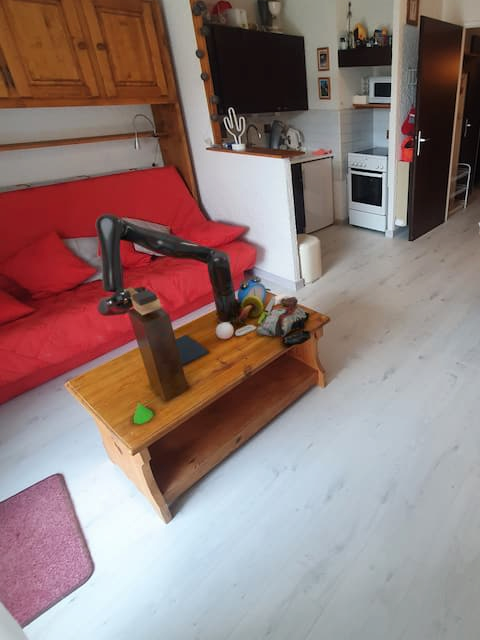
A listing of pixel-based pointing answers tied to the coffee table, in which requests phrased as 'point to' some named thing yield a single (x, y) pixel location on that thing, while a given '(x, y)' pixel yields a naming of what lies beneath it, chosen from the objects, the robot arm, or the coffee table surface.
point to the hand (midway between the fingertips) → (133, 292)
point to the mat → (189, 349)
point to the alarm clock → (251, 289)
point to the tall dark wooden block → (159, 352)
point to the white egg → (224, 330)
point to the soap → (245, 330)
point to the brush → (144, 300)
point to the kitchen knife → (266, 311)
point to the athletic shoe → (291, 320)
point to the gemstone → (142, 414)
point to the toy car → (296, 338)
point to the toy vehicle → (280, 298)
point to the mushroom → (249, 309)
